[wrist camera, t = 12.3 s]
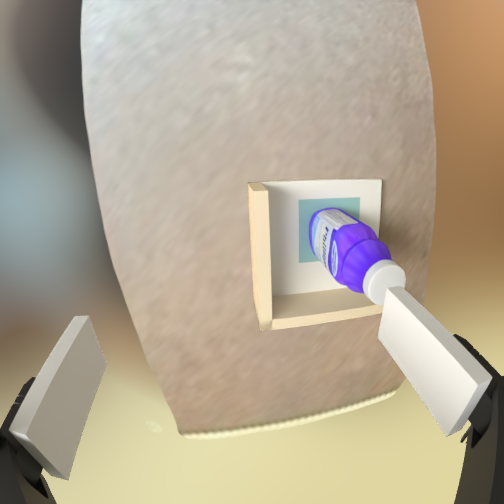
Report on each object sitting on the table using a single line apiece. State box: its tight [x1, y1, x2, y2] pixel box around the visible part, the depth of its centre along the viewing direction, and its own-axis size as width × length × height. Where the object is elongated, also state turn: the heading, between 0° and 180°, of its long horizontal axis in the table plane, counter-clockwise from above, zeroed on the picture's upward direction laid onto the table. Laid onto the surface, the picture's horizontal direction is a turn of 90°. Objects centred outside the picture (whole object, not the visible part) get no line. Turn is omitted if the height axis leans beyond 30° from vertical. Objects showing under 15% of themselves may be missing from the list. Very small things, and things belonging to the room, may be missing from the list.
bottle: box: [309, 208, 406, 305], centre depth 33 cm, size 7×6×17 cm
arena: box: [247, 179, 384, 331], centre depth 39 cm, size 18×19×7 cm
